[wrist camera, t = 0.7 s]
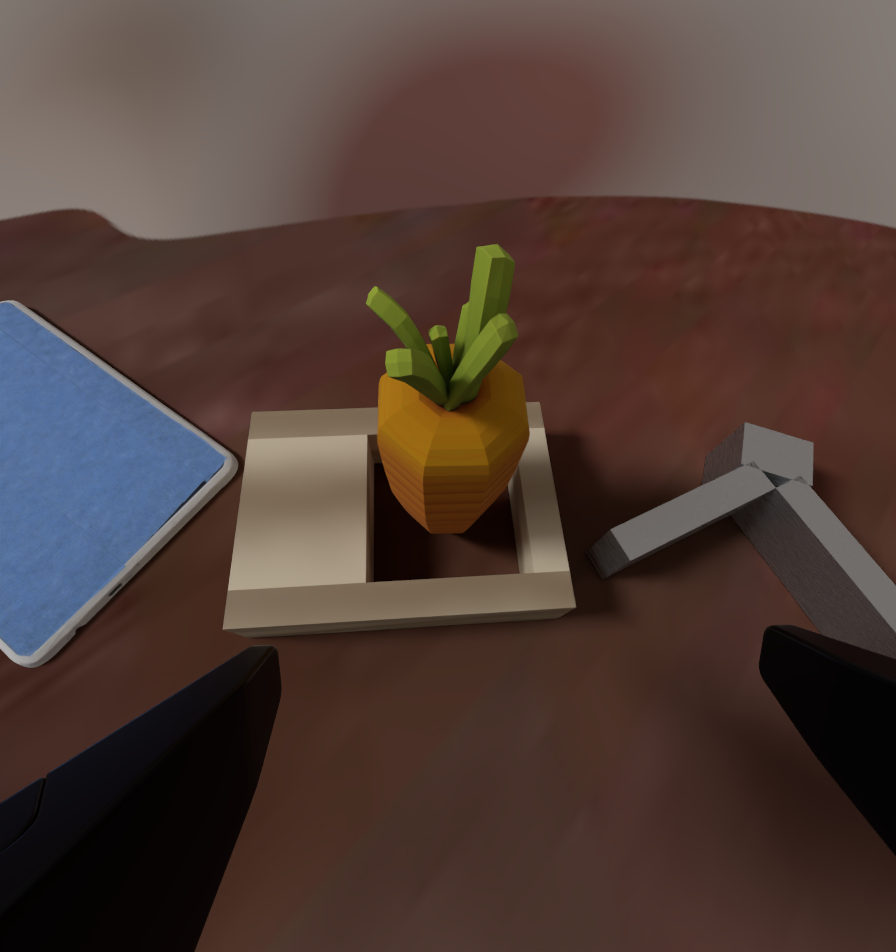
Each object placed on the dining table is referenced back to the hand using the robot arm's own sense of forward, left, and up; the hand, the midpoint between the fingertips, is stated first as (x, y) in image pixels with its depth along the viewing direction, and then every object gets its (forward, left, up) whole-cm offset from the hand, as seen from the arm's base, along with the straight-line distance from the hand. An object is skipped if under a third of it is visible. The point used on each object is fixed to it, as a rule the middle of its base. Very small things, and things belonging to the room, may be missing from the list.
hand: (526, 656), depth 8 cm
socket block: (+3, +7, -13) cm, 15 cm away
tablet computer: (-9, +24, -14) cm, 29 cm away
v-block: (+14, -5, -13) cm, 20 cm away
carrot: (+4, +6, -13) cm, 15 cm away
